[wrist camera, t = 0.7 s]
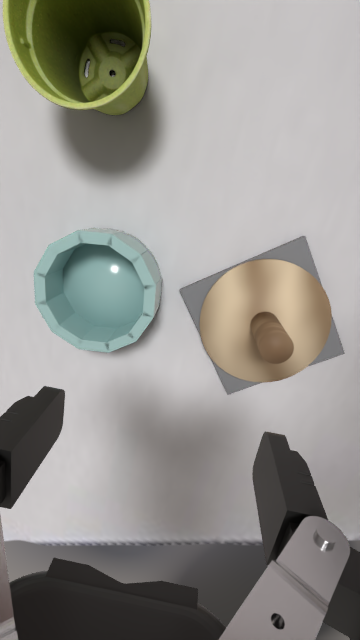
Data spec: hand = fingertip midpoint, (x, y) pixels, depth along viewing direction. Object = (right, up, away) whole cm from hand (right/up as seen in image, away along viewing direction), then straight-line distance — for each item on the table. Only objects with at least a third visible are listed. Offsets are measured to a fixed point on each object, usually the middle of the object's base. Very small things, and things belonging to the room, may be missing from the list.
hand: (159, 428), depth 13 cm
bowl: (-7, +8, +21) cm, 24 cm away
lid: (+9, +4, +21) cm, 23 cm away
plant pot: (-5, +25, +16) cm, 30 cm away
